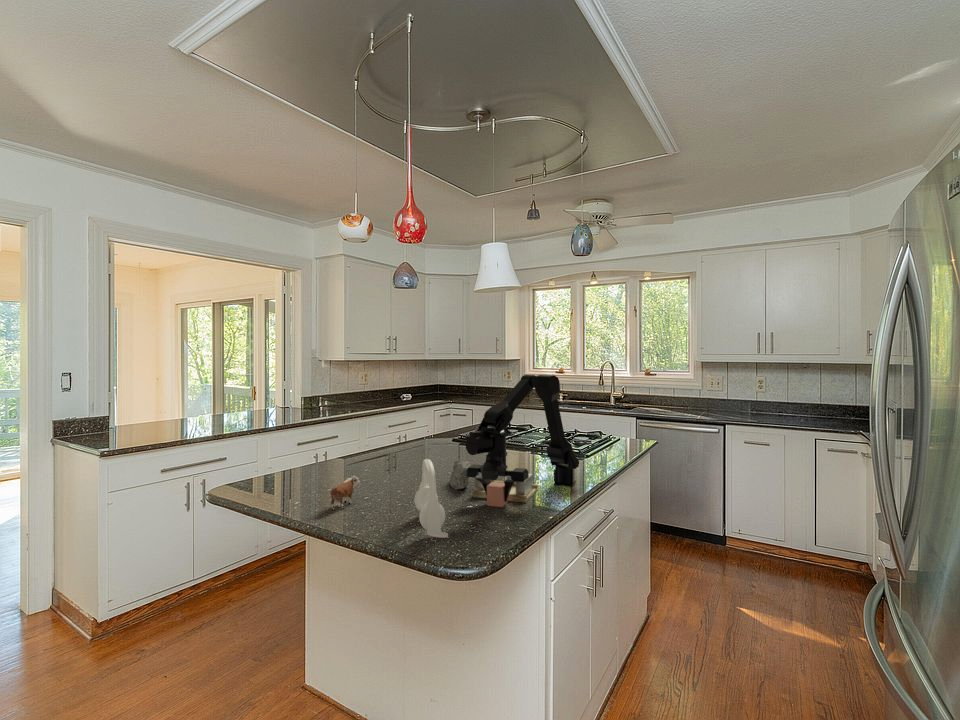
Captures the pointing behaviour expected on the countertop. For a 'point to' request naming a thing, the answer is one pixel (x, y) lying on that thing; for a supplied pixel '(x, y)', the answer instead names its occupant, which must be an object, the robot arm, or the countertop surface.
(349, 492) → the bull figurine
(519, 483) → the jaw
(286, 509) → the countertop surface
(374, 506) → the countertop surface
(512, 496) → the vise base
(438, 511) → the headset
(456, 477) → the rock
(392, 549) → the countertop surface
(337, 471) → the countertop surface
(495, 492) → the block
